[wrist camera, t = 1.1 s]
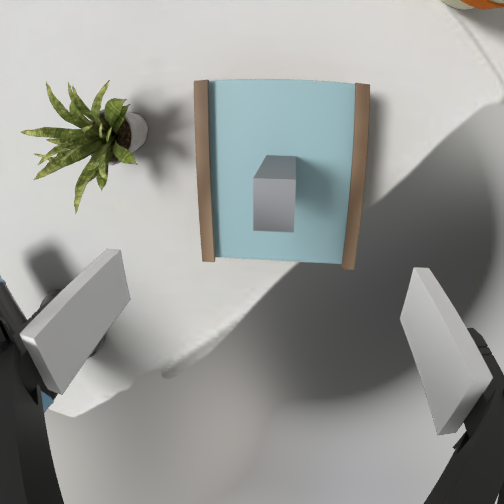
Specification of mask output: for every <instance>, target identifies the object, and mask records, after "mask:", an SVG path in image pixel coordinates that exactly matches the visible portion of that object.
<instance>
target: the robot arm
mask: <svg viewBox="0 0 504 504" xmlns="http://www.w3.org/2000/svg"><path fill="white" fill-rule="evenodd" d="M130 300H131V299H130V295H129V290H128V285H127V281H126V276H125V271H124V266H123V260H122V255H121V250H117V249H106V250H105V251H104V252H103V253H102V254H101V255H100V256H99V257H97V258H96V259H95V260H94V261H93V262H92V263H91V264H90V265H89V266H88V267H87V268H85V269H84V270H83V271H82V272H81V273H80V274H79V275H78V276H77V277H76V278H75V279H74V280H73V281H72V282H70V283H69V284H68V285H67V286H66V287H65V288H64V289H63V290H54V291H52V292H51V293H50V294H48V295H47V296H46V297H45V298H44V300H43V301H42V303H41V305H40V308H39V309H38V310H37V312H35V313H34V314H33V315H32V318H29V319H28V320H27V319H26V317H25V315H24V314H23V312H22V311H21V309H20V308H19V306H18V304H17V303H16V301H15V299H14V298H13V296H12V294H11V293H10V291H9V289H8V288H7V286H6V282H5V281H4V280H3V279H2V278H1V276H0V504H64V502H63V498H62V495H61V491H60V488H59V484H58V480H57V477H56V473H55V468H54V464H53V460H52V456H51V451H50V446H49V441H48V436H47V430H46V424H45V417H44V412H45V411H46V410H47V409H48V407H49V406H50V405H51V404H53V402H54V399H55V398H56V396H57V395H58V393H59V394H61V395H63V393H64V392H65V390H66V389H67V387H68V386H69V384H70V383H71V381H72V380H73V379H74V377H75V376H76V374H77V373H78V371H79V370H80V368H81V367H82V365H83V364H84V363H85V361H86V360H87V359H88V358H89V357H91V356H93V355H95V354H96V353H97V352H98V351H99V349H100V348H101V347H102V345H103V343H104V340H105V333H106V332H107V330H108V329H109V328H110V326H111V325H112V324H113V322H114V321H115V319H116V318H117V317H118V315H119V314H120V313H121V311H122V310H123V309H124V307H125V306H126V305H127V303H128V302H129V301H130ZM400 321H401V324H402V326H403V329H404V332H405V334H406V337H407V339H408V342H409V345H410V348H411V351H412V354H413V357H414V360H415V363H416V366H417V368H418V372H419V375H420V378H421V381H422V384H423V387H424V390H425V394H426V397H427V400H428V403H429V407H430V410H431V414H432V417H433V421H434V425H435V428H436V432H437V435H444V434H450V433H456V432H457V430H458V429H459V428H460V426H461V425H462V424H463V422H464V424H465V427H466V430H467V431H466V432H465V433H464V434H463V436H462V437H461V438H460V440H459V441H458V442H457V443H456V444H455V446H454V447H453V448H454V449H455V451H454V453H453V455H452V457H451V459H450V461H449V463H448V464H447V466H446V468H445V470H444V472H443V473H442V475H441V477H440V478H439V480H438V482H437V483H436V485H435V487H434V488H433V490H432V492H431V493H430V495H429V496H428V498H427V500H426V501H425V502H424V504H494V503H495V501H496V498H497V496H498V494H499V497H498V502H497V504H504V375H503V373H502V371H501V369H500V367H499V365H498V364H497V362H496V360H495V358H494V356H493V355H492V352H491V351H490V349H489V348H488V347H487V346H488V345H487V344H486V342H485V340H484V339H483V337H482V336H481V335H480V334H479V333H478V332H477V331H476V330H475V329H474V328H466V326H465V325H464V323H463V321H462V320H461V318H460V316H459V315H458V313H457V311H456V310H455V308H454V306H453V305H452V303H451V302H450V300H449V298H448V297H447V295H446V293H445V292H444V290H443V289H442V287H441V286H440V284H439V283H438V281H437V280H436V278H435V277H434V275H433V274H432V272H431V271H430V269H429V268H416V267H414V268H413V272H412V277H411V280H410V284H409V288H408V292H407V295H406V299H405V302H404V306H403V310H402V313H401V316H400ZM456 447H457V448H456Z"/></svg>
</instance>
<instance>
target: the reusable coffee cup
mask: <svg viewBox="0 0 504 504" xmlns="http://www.w3.org/2000/svg"><path fill="white" fill-rule="evenodd" d="M441 1H442V2H444V3H445V4H447V5H449V6H451V7H453V8H456V9H461V10H465V9H472V8H479V9H492V8H500V7H504V0H441Z"/></svg>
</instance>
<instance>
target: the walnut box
mask: <svg viewBox="0 0 504 504" xmlns="http://www.w3.org/2000/svg"><path fill="white" fill-rule="evenodd" d="M369 103H370V85H369V84H361V83H355V109H354V134H353V152H352V167H351V180H350V192H349V203H348V213H347V223H346V232H345V241H344V249H343V257H342V264H341V269H350V270H353V269H354V264H355V258H356V251H357V243H358V236H359V229H360V220H361V212H362V203H363V194H364V183H365V172H366V160H367V145H368V128H369ZM194 113H195V144H196V167H197V187H198V205H199V220H200V235H201V249H202V261H203V262H215V247H214V228H213V208H212V186H211V159H210V124H209V80H199V81H194Z"/></svg>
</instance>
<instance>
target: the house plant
mask: <svg viewBox="0 0 504 504" xmlns="http://www.w3.org/2000/svg"><path fill="white" fill-rule="evenodd" d="M109 81H110V80H109ZM109 81H108V82H107V83H106V84H105V85H104V86H103V88H102V89H101V90H100V91H99V93H98V94H97V96H96V97H95V99H94V102H93V105H92V110H91V111H90V110H89V109H88V108H87V106H86V105H85V104H84V103H83V101H82V100H81V99H80V97H79V96H78V95H77V93H76V90H75V88H74V87H73V92H72V90H71V86H70V85H69V82H68V91H69V95H70V98H71V101H72V102H71V104H70V113H69V112H68V111H67V110H66V109H65V107H64V106H63V105H62V104H61V102H60V101H59V100H58V99H57V98H56V97H55V96H54V95H53V93H52V91H51V88H50V86H49V85H48V84H47V82H46V86H47V93H48V96H49V99H50V102H51V104H52V105H53V107H54V109H55V110H56V111H57V113H58V114H59V115H60V116H61V117H62V118H63V119H64V120H65V121H67V122H69V123H72V124H74V125H75V126H77V127H79V128H81V129H65V128H50V127H44V128H39V129H35V130H25V131H22V132H21V133H23V134H26V135H30V136H36V137H51V138H57V139H46V140H47V141H50V142H52V143H55V144H58V146H56V147H54V148H53V149H52V150H51V151H49V152H48V153H47V154H46V155H41V154H35V155H37V156H40V157H43V158H42V159H41V161H40V162H39V164H41V163H42V162H44V161H45V160H49V161H50V162H49V163H48V164H47V165H46V167H45V168H43V169H42V170H41V171H40V172H39V173H38V174H37V176H36V178H35V179H39V178H41V177H44V176H46V175H48V174H51V173H53V172H55V171H57V170H59V169H61V168H63V167H65V166H68V165H70V164H73V163H75V162H77V161H80V160H82V159H84V158H86V157H87V156H89V155H91V156H92V157H91V159H90V161H89V163H88V164H87V165H86V167H85V168H84V170H83V171H82V173H81V175H80V177H79V179H78V181H77V184H76V188H75V200H74V207H75V211H76V212H77V210H78V206H79V203H80V200H81V197H82V194H83V192H84V189H85V187H86V185H87V183H88V182H89V181H91V180H92V179H94V178H95V177H96V176H97V182H98V185H99V186H100V188H101V190H102V189H103V187H104V186H105V185H106V181H107V176H108V165H115V164H118V163H120V162H123V163H129V164H137V163H136V161H135V158H134V156H133V154H132V153H133V152H134V151H136V150H137V149H138V148H139V147H141V146H142V145H143V144H144V143H145V141H146V138H147V134H148V126H147V123H146V121H145V119H144V118H143V117H142V116H140V115H138V114H135V113H131V112H126V111H127V108H128V106H129V105H130V104H129V105H127V106H123V107H122V105H123V103H124V101H125V100H127V99H124V100H123V99H116V98H114V99H111V100H109V101H108V102H107V103H106V105H105V109H104V110H101V111H100V108H101V101H102V97H103V95H104V93H105V91H106V89H107V87H108V84H109ZM83 114H84V115H85V116H86V117H88V118H89V119H90V121H89V120H88V119H87V118H86V117H85V116H84V115H83ZM68 149H70V150H68ZM65 150H66V151H65ZM56 153H58V154H57V156H56V157H54V158H53V157H51V156H53V155H54V154H56ZM98 162H99V164H98ZM39 164H38V165H39ZM97 164H98V166H97ZM137 165H138V164H137Z"/></svg>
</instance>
